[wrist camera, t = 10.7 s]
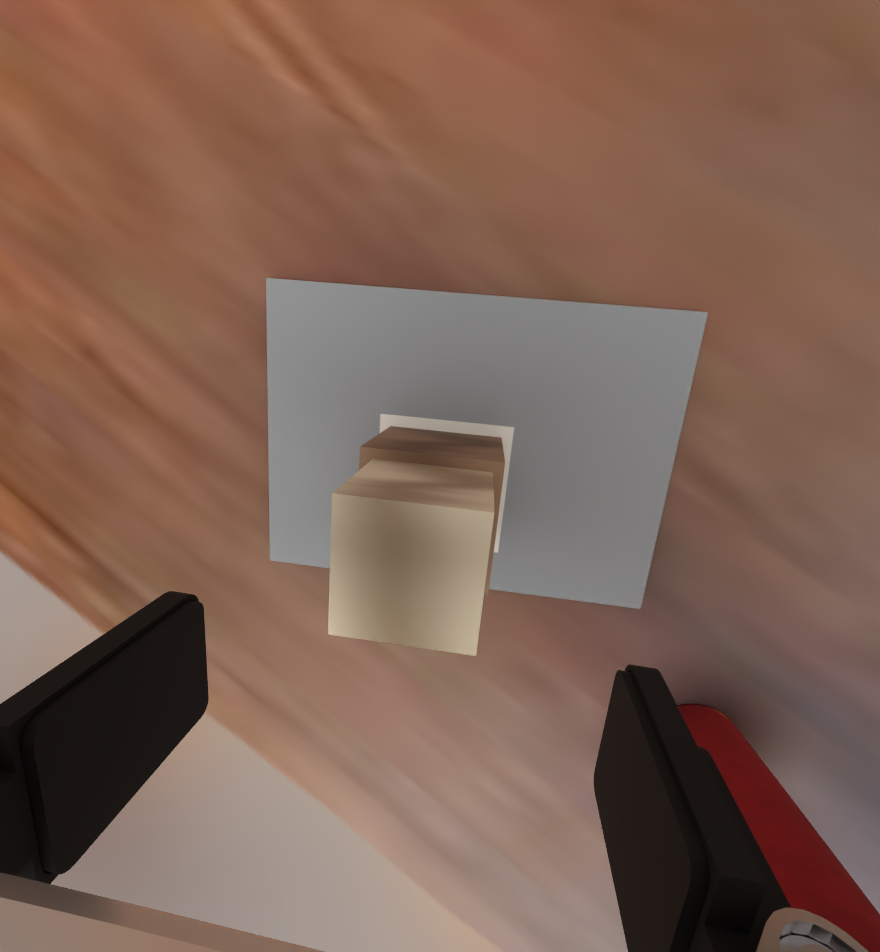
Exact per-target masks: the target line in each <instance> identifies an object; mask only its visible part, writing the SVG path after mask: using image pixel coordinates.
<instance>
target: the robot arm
mask: <svg viewBox="0 0 880 952" xmlns="http://www.w3.org/2000/svg"><path fill="white" fill-rule="evenodd" d="M207 704H208V681H207V661H206V642H205V623H204V608H203V605H202V603H200V602H199V601H198V598H197V597H196V596H195V595H192V594H186V593H180V592H174V591H169V592H167V593H165V594H163V595H162V596H160V597H159V598H157V599H156V600H154V601H153V602H151V603H150V604H148V605H147V606H145V607H144V608H142V609H141V610H139V611H138V612H136V613H135V614H133V615H132V616H130V617H129V618H127V619H126V620H124V621H123V622H121V623H120V624H119V625H117V626H116V627H114V628H113V629H111V630H110V631H108V632H107V633H105V634H104V635H102V636H101V637H99V638H98V639H96V640H95V641H93V642H92V643H90V644H89V645H87V646H86V647H84V648H83V649H81V650H80V651H78V652H77V653H75V654H74V655H72V656H71V657H70V658H68V659H67V660H65V661H64V662H62V663H61V664H59V665H58V666H56V667H55V668H53V669H52V670H50V671H49V672H47V673H46V674H44V675H43V676H41V677H40V678H38V679H37V680H36V681H34V682H33V683H31V684H30V685H28V686H26V687H25V688H24V689H22V690H21V691H19V692H18V693H16V694H15V695H13V696H12V697H10V698H9V699H7V700H6V701H4V702H3V703H1V704H0V952H324V951H320V950H316V949H312V948H307V947H304V946H300V945H296V944H291V943H288V942H284V941H279V940H275V939H272V938H267V937H264V936H260V935H256V934H252V933H248V932H244V931H240V930H235V929H232V928H228V927H224V926H219V925H215V924H211V923H207V922H203V921H199V920H195V919H191V918H187V917H183V916H179V915H175V914H171V913H167V912H163V911H159V910H155V909H151V908H147V907H142V906H138V905H134V904H130V903H126V902H122V901H118V900H113V899H109V898H105V897H101V896H97V895H93V894H88V893H84V892H80V891H76V890H72V889H68V888H64V887H59V886H55V885H51V882H52V881H53V880H54V879H55V878H56V877H57V876H58V874H63V873H65V872H66V871H68V870H69V869H70V868H71V867H72V866H73V865H74V864H75V863H76V862H77V861H78V860H79V859H80V858H81V856H82V855H83V854H84V853H85V852H86V851H87V849H88V848H89V847H90V846H91V845H92V844H93V842H94V841H95V840H96V839H97V838H98V836H99V835H100V834H101V833H102V832H103V831H104V830H105V828H106V827H107V826H108V825H109V824H110V823H111V821H112V820H113V819H114V818H115V817H116V816H117V814H118V813H119V812H120V811H121V810H122V809H123V808H124V806H125V805H126V804H127V803H128V802H129V801H130V799H131V798H132V797H133V796H134V794H136V792H137V791H138V790H139V789H140V788H141V787H142V785H143V784H144V783H145V782H146V781H147V780H148V778H149V777H150V776H151V775H152V774H153V773H154V772H155V770H156V769H157V768H158V767H159V766H160V764H161V763H162V762H163V761H164V760H165V759H166V758H167V756H168V755H169V754H170V753H171V751H173V749H174V748H175V747H176V746H177V745H178V744H179V742H180V741H181V740H182V739H183V738H184V737H185V735H186V734H187V733H188V732H189V731H190V729H191V728H192V727H193V726H194V725H195V724H196V723H197V722H198V720H199V719H200V718H201V717H202V715H203V714H204V712H205V710H206V707H207ZM594 790H595V796H596V801H597V805H598V810H599V815H600V820H601V824H602V829H603V834H604V839H605V843H606V848H607V853H608V858H609V862H610V867H611V872H612V877H613V881H614V886H615V891H616V896H617V900H618V905H619V910H620V915H621V919H622V924H623V929H624V934H625V938H626V943H627V948H628V952H868V950H866V949H865V948H864V947H863V946H862V945H860V944H859V943H858V942H857V941H856V940H855V939H853V938H852V937H851V936H850V935H849V934H848V933H846V932H845V931H844V930H842V929H840V928H839V927H837V926H836V925H834V924H832V923H831V922H829V921H828V920H826V919H825V918H823V917H820V916H818V915H815V914H813V913H811V912H808V911H806V910H803V909H795V908H792V907H791V906H790V904H789V902H788V900H787V898H786V896H785V894H784V892H783V890H782V889H781V887H780V885H779V883H778V881H777V879H776V877H775V875H774V873H773V871H772V870H771V868H770V866H769V864H768V862H767V860H766V858H765V856H764V854H763V853H762V851H761V849H760V847H759V845H758V843H757V841H756V839H755V837H754V836H753V834H752V832H751V830H750V828H749V826H748V824H747V822H746V820H745V818H744V817H743V815H742V813H741V811H740V809H739V807H738V805H737V803H736V801H735V800H734V798H733V796H732V794H731V792H730V790H729V788H728V786H727V784H726V783H725V781H724V779H723V777H722V775H721V773H720V771H719V769H718V767H717V765H716V764H715V762H714V760H713V758H712V757H711V755H710V754H709V752H708V751H707V750H706V749H704V748H703V747H699V746H697V744H696V742H695V740H694V738H693V736H692V734H691V732H690V730H689V728H688V726H687V724H686V723H685V721H684V719H683V717H682V715H681V713H680V711H679V709H678V707H677V705H676V703H675V701H674V699H673V697H672V695H671V693H670V691H669V689H668V687H667V685H666V683H665V681H664V679H663V677H662V675H661V673H660V672H659V670H657V669H654V668H648V667H642V666H635V665H627V667H626V669H625V671H621V670H618V671H617V673H616V676H615V680H614V684H613V689H612V694H611V698H610V703H609V707H608V712H607V717H606V721H605V726H604V730H603V735H602V739H601V744H600V749H599V753H598V758H597V762H596V767H595V772H594Z"/></svg>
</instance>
